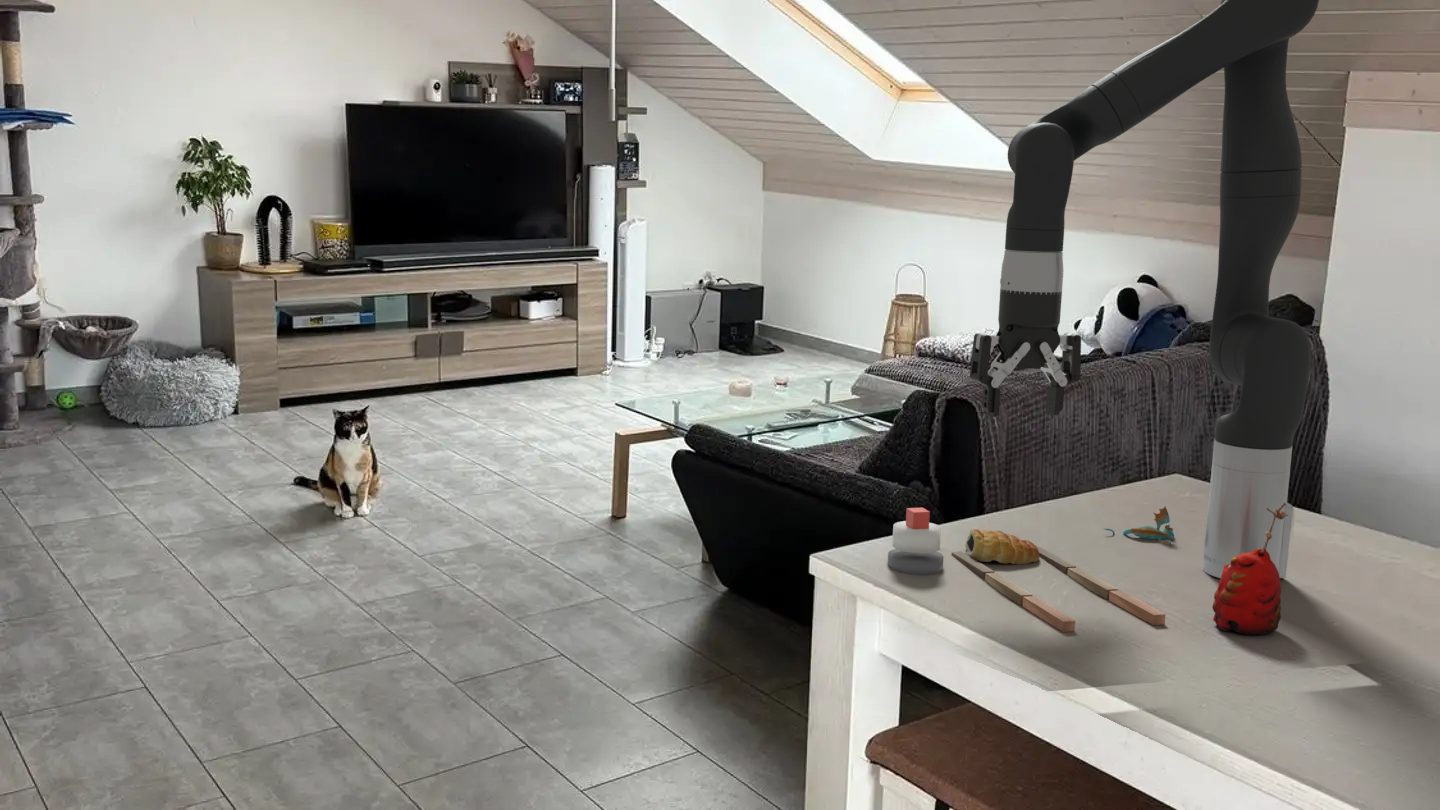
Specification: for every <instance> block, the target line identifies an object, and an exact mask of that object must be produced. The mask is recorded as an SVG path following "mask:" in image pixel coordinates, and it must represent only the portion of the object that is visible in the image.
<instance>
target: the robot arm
mask: <svg viewBox="0 0 1440 810" xmlns="http://www.w3.org/2000/svg"><path fill="white" fill-rule="evenodd" d="M1319 2H1320V0H1221V1H1220V5H1219V6H1218V7H1217V8H1215V9H1214V10H1212V11H1211V12H1209V14H1207V15H1206V16H1204V17H1203V18H1202V19H1200V20H1199V21H1197V22H1196V23H1194V24H1193V25H1191V26H1189V27H1188V28H1186V29H1185V30H1183V31H1182V32H1179V33H1178V34H1176V35H1175V36H1173V37H1171V38H1170V39H1167V40H1165V41H1164V42H1161V43H1160V44H1158V45H1156V46H1154V47H1153V48H1150V49H1148V50H1147V51H1145V52H1143V53H1141V54H1139V55H1137V56H1136V57H1134V58H1132V59H1130V60H1129V61H1126V62H1125V63H1124V64H1122V65H1120V66H1119V67H1117V68H1116V69H1114V70H1112V71H1111V72H1109V73H1108V74H1107V75H1104V77H1102V78H1100V79H1099V80H1097V81H1096V82H1094V83H1093V84H1091V85H1089V86H1088V87H1087V88H1086V89H1084V90H1082V92H1080V93H1079V94H1078V95H1076V96H1075V97H1074V98H1073V99H1071V100H1070V101H1069V102H1067V103H1065V104H1063V105H1061V106H1059V107H1057V108H1056V109H1054V110H1052V111H1051V112H1049V113H1047V114H1045V115H1043V116H1042V117H1039V118H1038V119H1036V120H1035V121H1033V122H1031V123H1030V124H1028V125H1026V126H1025V127H1024V128H1022V129H1021V130H1019V131H1018V132H1017V133H1016V134H1015V135H1014V136H1013V138H1012V139H1011V140H1010V143H1009V146H1008V148H1007V163H1008V164H1009V168H1010V169H1011V171H1012V172H1013V173H1014V184H1013V195H1012V196H1013V197H1012V198H1013V200H1012V204H1011V206H1010V208H1009V209H1008V213H1007V217H1006V226H1005V227H1006V228H1005V241H1004V242H1005V243H1004V255H1003V260H1002V263H1001V271H1000V272H1001V273H1000V281H999V284H1000V287H999V302H998V304H999V305H998V318H997V319H998V331H997V332H996V335H994V334H991V335H990V334H986V333H982V332H976V333H975V334H974V336H973V342H972V343H973V344H972V353H971V359H970V367H969V368H970V369H969V378H970V379H971V380H972V381H975V382H978V383H979V384H981V385H982V386H983V394H982V409H983V410H982V411H984V412H985V414H986V415H987V416H988V417H991V418H998V417H999V416H1000V406H1001V405H1000V403H1001V388H1000V387H999V386H1000V385H1001V384H1002V382H1004V379H1005V378H1006V377H1007V376H1008V375H1010V374H1011V373H1012V372H1013V371H1014V369H1017V370H1025V369H1028V368H1031V369H1035V370H1038V369H1040V371H1042V372H1043V374H1044V375H1045V376H1046V379H1047V380H1048V381H1049V383H1050V384H1047V385H1046V386H1047V387H1046V400H1045V401H1046V403H1045V413H1046V414H1047V415H1049V416H1052V417H1058V416H1059V415H1060V412H1062V410H1063V408H1064V402H1065V401H1064V399H1065V387H1066V386H1067V385H1068V384H1069V383H1072V382H1076V383H1077V382H1079V380H1080V379H1081V364H1082V362H1081V360H1082V337H1081V335H1079V334H1076V333H1071V332H1070V333H1069V332H1065V333H1064V334H1059V330H1058V329H1059V325H1060V323H1061V311H1062V310H1061V309H1062V297H1063V281H1064V258H1063V257H1064V255H1063V254H1064V253H1063V251H1064V240H1065V239H1064V238H1065V214H1066V207H1067V203H1068V199H1069V195H1070V194H1069V193H1070V188H1071V185H1072V184H1071V183H1072V178H1073V172H1074V164H1075V163H1074V162H1075V161H1076V160H1078V159H1079V158H1080V157H1082V156H1084V155H1085V154H1086V153H1088V152H1089V151H1091V150H1093V149H1094V148H1096V147H1098V146H1100V145H1101V146H1102V145H1103V144H1106V143H1108V142H1111V141H1112V140H1114V139H1116V138H1117V137H1120V136H1121V135H1123V134H1124V133H1127V131H1129V130H1131V129H1132V128H1134V127H1135V126H1137V125H1138V124H1140V123H1141V122H1143V121H1145V120H1146V119H1147V118H1149V117H1151V115H1154V114H1155V113H1156V112H1158V111H1159V110H1161V109H1163V108H1164V107H1165V106H1167V105H1169V103H1171V102H1172V101H1174V100H1175V99H1177V98H1178V97H1180V96H1181V95H1183V94H1184V93H1187V91H1189V90H1190V89H1192V88H1193V87H1194V86H1196V85H1197V84H1199V83H1202V81H1204V80H1206V79H1207V78H1209V77H1211V76H1212V75H1213V74H1214V75H1215V74H1216V73H1217V72H1219V71H1220V70H1222V69H1223V72H1224V73H1223V76H1224V96H1223V97H1224V100H1223V101H1224V102H1223V111H1222V112H1223V114H1222V130H1221V131H1222V135H1221V155H1220V156H1221V158H1220V159H1221V160H1220V170H1219V171H1220V173H1219V174H1220V175H1219V181H1220V183H1219V220H1220V221H1219V239H1218V264H1217V265H1218V267H1217V278H1216V279H1217V281H1216V287H1215V288H1216V289H1215V295H1214V297H1215V298H1214V304H1213V313H1212V321H1211V326H1210V327H1211V328H1210V337H1209V359H1210V363H1211V365H1212V368H1213V370H1214V372H1215V374H1216V375H1217V376H1218V377H1219V378H1220V379H1222V381H1224V382H1226V383H1229V384H1231V385H1235V386H1240V387H1241V391H1240V396H1239V397H1240V398H1239V401H1238V406H1237V408H1235V410H1234V411H1232V412H1230V413H1228V414H1223V415H1221V416H1220V417H1218V419H1216V422H1215V428H1214V438H1213V448H1212V449H1213V450H1212V451H1213V452H1212V461H1211V469H1210V470H1211V471H1210V473H1211V474H1210V480H1209V481H1210V485H1209V495H1208V501H1207V502H1208V505H1207V515H1206V525H1205V526H1206V527H1205V537H1204V544H1203V545H1204V549H1203V558H1202V571H1204V573H1206V574H1207V575H1210V576H1213V577H1214V578H1215V577H1216V578H1218V579H1221V576H1222V573H1223V568H1224V566H1225V565H1227V564H1231V561H1230V560H1231V559H1232V558H1233V557H1236V556H1238V555H1240V554H1242V553H1250V552H1252V551H1253V550H1254V549H1258V550H1259V549H1263V547H1264V544H1265V542H1266V539H1267V536H1266V534H1265V532H1266V531H1269V530H1270V528H1271V525H1272V522H1273V519H1274V514H1273V513H1271V512H1270V511H1268V510H1267V508H1268V509H1270V510H1271V511H1273V512H1274V511H1275V510H1276V509H1278V508H1279V507H1280V506H1281V505H1282V504H1283V503H1285V504H1286V505H1285V506H1283V508H1282V509H1281V510H1280V512H1281V511H1283V512H1284V513H1285V514H1287V515H1288V516H1285V517H1284V518H1283V519H1278V518H1276V519H1275V522H1274V525H1273V528H1272V531H1271V535H1272V538H1271V539H1270V540H1268V543H1267V547H1266V551H1267V552H1268V553H1269V555H1270V559H1271V561H1272V562H1273V563H1274V564H1275V566H1276V568H1277V570H1278V573H1279V576H1280V579H1283V578H1285V579H1286V577H1287V568H1288V561H1289V560H1288V559H1289V552H1290V551H1289V549H1290V541H1291V531H1292V521H1293V520H1292V519H1293V511H1294V510H1293V509H1294V507H1293V505H1292V504H1291V503H1289V502H1288V494H1289V485H1290V484H1289V483H1290V477H1291V476H1290V475H1291V466H1292V465H1291V464H1292V454H1293V445H1294V437H1295V434H1296V432H1297V430H1298V428H1299V426H1300V425H1301V423H1302V419H1303V416H1304V412H1305V411H1304V410H1305V404H1306V398H1307V391H1308V385H1309V380H1310V379H1309V378H1310V373H1311V362H1312V350H1311V342H1310V339H1309V337H1308V335H1307V332H1306V331H1305V329H1303V328H1302V326H1301V325H1300V324H1298V323H1296V322H1294V321H1292V320H1289V319H1285V318H1278V317H1274V316H1272V317H1271V316H1270V310H1269V302H1270V301H1269V299H1270V297H1269V296H1270V283H1271V282H1270V281H1271V276H1272V271H1273V268H1274V265H1275V263H1276V261H1277V258H1278V256H1279V253H1280V252H1281V250H1282V248H1283V246H1284V245H1285V243H1286V240H1287V239H1288V237H1289V235H1290V233H1291V231H1292V229H1293V227H1294V224H1295V222H1296V220H1297V217H1298V214H1299V210H1300V205H1301V204H1300V203H1301V194H1302V193H1301V191H1302V167H1303V166H1302V151H1301V149H1302V148H1301V146H1300V145H1301V144H1300V138H1299V135H1298V130H1297V127H1296V123H1295V122H1296V121H1295V120H1294V116H1293V112H1292V108H1291V105H1290V101H1289V98H1288V96H1289V95H1288V92H1287V91H1288V90H1287V64H1288V63H1287V62H1288V61H1287V60H1288V50H1289V49H1288V48H1289V41H1290V38H1293V37H1294V36H1296V35H1297V34H1299V33H1300V32H1302V31H1303V29H1305V28H1306V27H1307V25H1308V24H1309V23H1310V22H1311V21H1312V19H1313V18H1314V16H1315V14H1316V12H1317V9H1318V6H1319ZM995 346H996V348H997V349H998V351H999V353H998V354H997V355H996V357H995V358H994V360H992V362H991V364H990V358H991V353H992V352H993V350H994V349H995ZM1058 348H1059V349H1060V350H1061V351H1062V354H1061V355H1062V357H1061V359H1062V360H1061V361H1062V362H1061V365H1060V363H1059V361H1058V360H1057V358H1056V357H1055V355H1054V353H1055V351H1056V350H1057V349H1058ZM989 364H990V365H989ZM989 366H990V368H989Z"/></svg>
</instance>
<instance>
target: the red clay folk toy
mask: <svg viewBox="0 0 1440 810" xmlns="http://www.w3.org/2000/svg"><path fill="white" fill-rule="evenodd" d="M1285 505H1286V504H1285V503H1283V504H1282V505H1281V506H1280V507H1279V508H1278V509H1276V510H1275V511H1274V512H1273V511H1271V510H1270V509H1268V508H1267V510H1268V511H1270V512H1271V513H1273V514H1274V519H1273V522H1272V525H1271V528H1270V530H1269V531H1266V532H1265V534H1266V536H1267V539H1266V542H1265V544H1264V547H1263V549H1259V550H1258V549H1254V550H1253V551H1252V552H1250V553H1242V554H1240V555H1238V556H1236V557H1233V558H1232V559H1231V560H1230V561H1231V564H1227V565H1225V566H1224V568H1223V573H1222V576H1221V578H1219V579H1220V580H1219V582H1218V586H1217V588H1216V590H1215V592H1214V596H1213V599H1214V600H1213V604H1212V610H1213V612H1214V615H1213V622H1215V624H1216V628H1217V629H1219V630H1221V631H1224V632H1230V631H1233V630H1234V632H1236V633H1239V634H1242V635H1246V636H1257V635H1264V634H1265V635H1266V634H1269V633H1273V632H1275V631H1276V630H1278V628H1279V623H1280V621H1281V619H1282V618H1281V617H1282V614H1281V612H1282V611H1281V610H1282V608H1281V607H1282V606H1281V593H1282V586H1281V578H1280V576H1279V573H1278V570H1277V568H1276V566H1275V564H1274V563H1273V562H1272V561H1271V559H1270V555H1269V553H1268V552H1267V551H1266V547H1267V543H1268V540H1270V539H1271V538H1272V535H1271V531H1272V528H1273V525H1274V522H1275V519H1276V518H1278V519H1283V518H1284V517H1285V516H1288V515H1287V514H1285V513H1284V512H1283V511H1281V512H1280V510H1281V509H1282V508H1283V506H1285Z"/></svg>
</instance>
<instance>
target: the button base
mask: <svg viewBox="0 0 1440 810" xmlns="http://www.w3.org/2000/svg"><path fill="white" fill-rule="evenodd" d="M887 565H888V567H889V568H890V569H892V570H893V571H896V572H899V573H902V574H907V575H913V576H914V575H915V576H931V575H930V574H932V575H935V574H939V573H941V572H942V571H943V570H942V569H944V555H943V554H942V553H940V552H938V551H936V552H932V553H910V552H904V551H900V550H898V549H895V548H893V549H891V550H889V551H888V553H887ZM940 571H941V572H940ZM938 572H939V573H938ZM934 573H935V574H934Z"/></svg>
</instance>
